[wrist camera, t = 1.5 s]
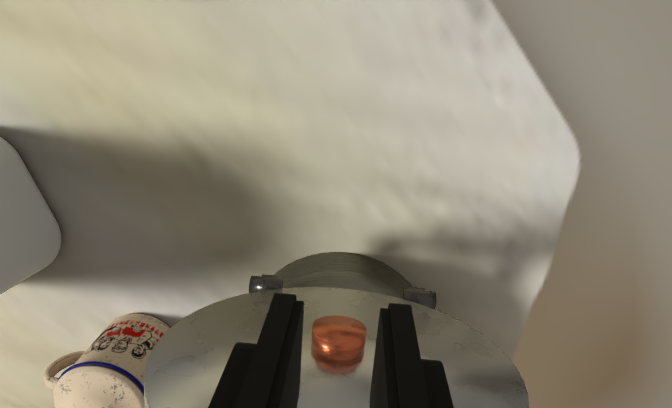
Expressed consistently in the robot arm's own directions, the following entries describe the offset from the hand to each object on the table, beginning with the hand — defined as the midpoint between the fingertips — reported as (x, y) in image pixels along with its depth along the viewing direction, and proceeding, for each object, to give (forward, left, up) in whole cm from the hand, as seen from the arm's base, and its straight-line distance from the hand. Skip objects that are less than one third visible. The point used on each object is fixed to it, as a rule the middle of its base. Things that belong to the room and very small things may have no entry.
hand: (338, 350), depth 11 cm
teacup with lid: (+26, -23, -31) cm, 47 cm away
